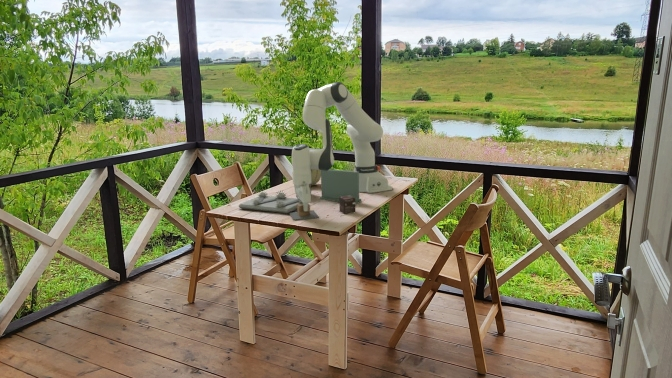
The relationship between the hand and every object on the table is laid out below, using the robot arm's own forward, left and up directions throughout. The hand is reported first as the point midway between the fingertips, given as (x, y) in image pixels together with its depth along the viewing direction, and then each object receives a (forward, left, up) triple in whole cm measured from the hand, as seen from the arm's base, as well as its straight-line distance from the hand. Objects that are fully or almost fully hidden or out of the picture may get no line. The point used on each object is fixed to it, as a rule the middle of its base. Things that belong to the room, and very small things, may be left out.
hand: (303, 208), depth 228 cm
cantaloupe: (-16, -63, -4) cm, 65 cm away
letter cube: (0, 0, -3) cm, 3 cm away
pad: (0, 0, -4) cm, 4 cm away
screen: (-24, -22, -4) cm, 33 cm away
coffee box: (-8, -40, -4) cm, 41 cm away
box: (-21, +1, -4) cm, 22 cm away
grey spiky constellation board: (+11, -22, -4) cm, 25 cm away
